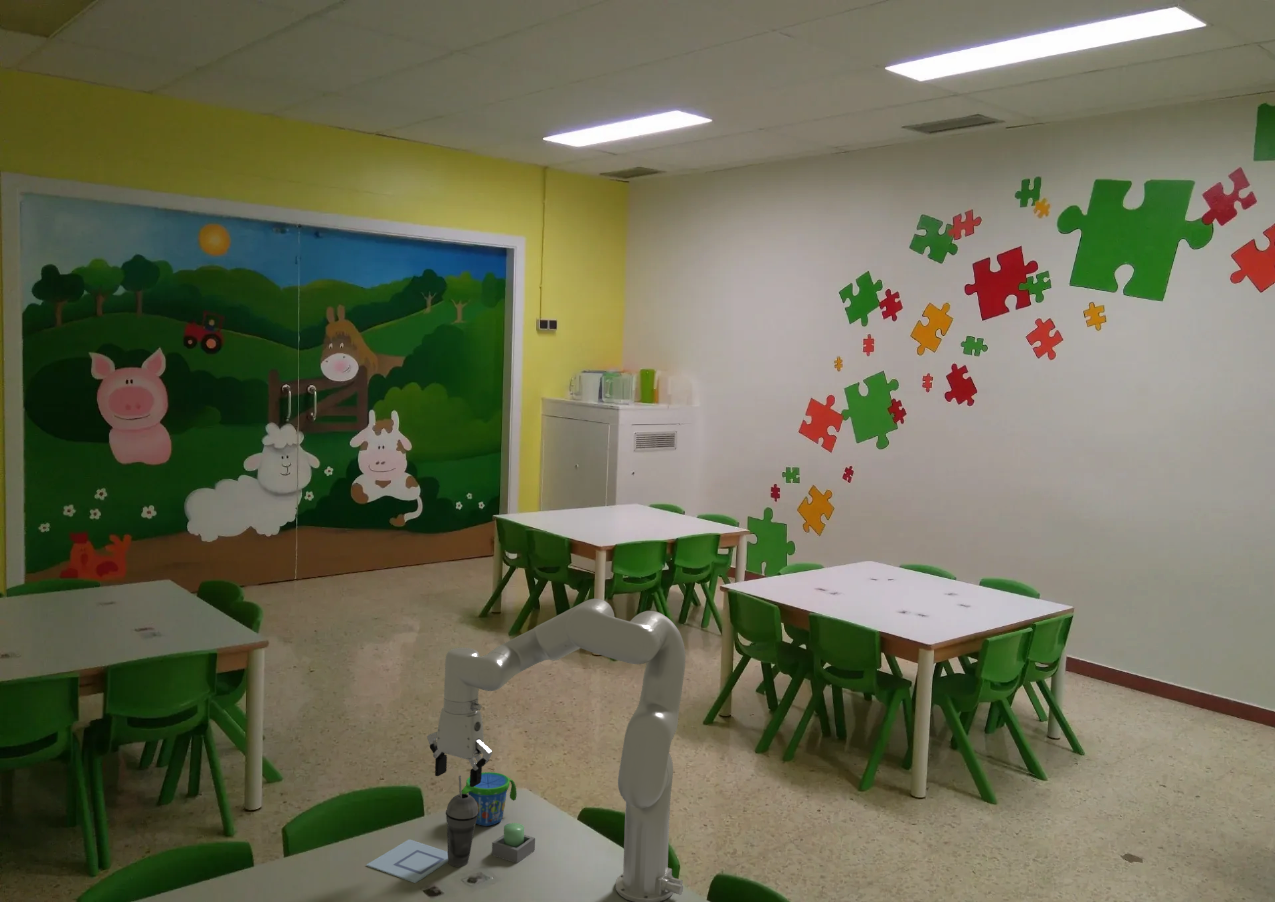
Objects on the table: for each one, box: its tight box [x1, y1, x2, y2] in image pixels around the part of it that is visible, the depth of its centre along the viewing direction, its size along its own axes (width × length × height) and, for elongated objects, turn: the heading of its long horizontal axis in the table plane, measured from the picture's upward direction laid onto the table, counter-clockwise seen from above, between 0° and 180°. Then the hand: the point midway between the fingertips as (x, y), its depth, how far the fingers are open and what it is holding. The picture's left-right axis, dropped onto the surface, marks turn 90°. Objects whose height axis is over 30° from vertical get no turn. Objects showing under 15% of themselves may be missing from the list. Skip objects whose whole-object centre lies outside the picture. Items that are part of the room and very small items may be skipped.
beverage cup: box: [445, 775, 478, 868], centre depth 219 cm, size 7×7×20 cm
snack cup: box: [462, 771, 518, 827], centre depth 240 cm, size 16×10×10 cm
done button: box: [503, 822, 525, 848], centre depth 225 cm, size 5×5×4 cm
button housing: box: [491, 834, 536, 864], centre depth 225 cm, size 7×7×3 cm
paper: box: [365, 838, 448, 884], centre depth 220 cm, size 14×14×1 cm
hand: (457, 779), depth 218 cm, fingers open, 9 cm apart
